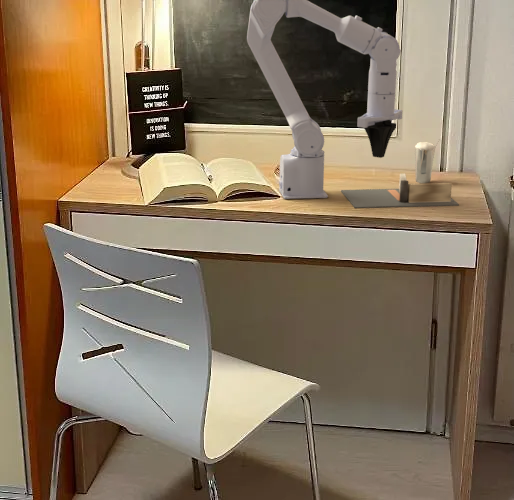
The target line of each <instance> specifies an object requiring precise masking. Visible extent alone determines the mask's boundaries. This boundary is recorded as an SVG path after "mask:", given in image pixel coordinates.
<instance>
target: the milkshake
mask: <svg viewBox="0 0 514 500" xmlns="http://www.w3.org/2000/svg"><path fill="white" fill-rule="evenodd" d="M440 140H441V139H440V138H439V139H438V141H437V143H439V141H440ZM436 146H437V145H434V144H433V143H432V142H429V141H423V142H422V141H419V142H417V143H416V144H415V145H414V152H415V153H414V155H415V182H416V183H431V179H432V172H433V171H432V170H433V164H434V159H435V153H436Z"/></svg>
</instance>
